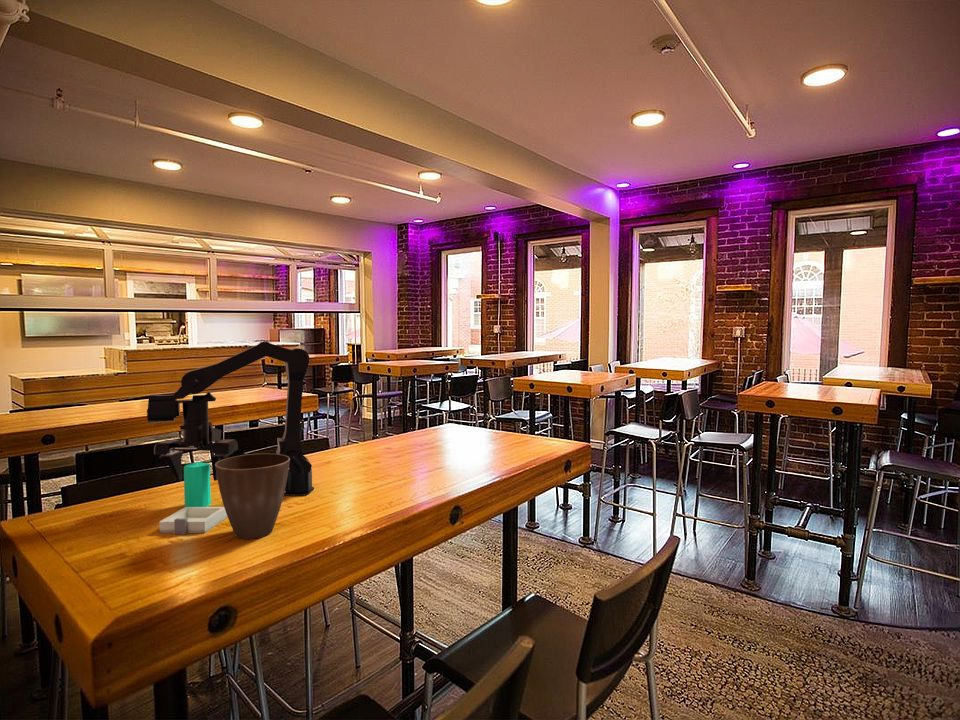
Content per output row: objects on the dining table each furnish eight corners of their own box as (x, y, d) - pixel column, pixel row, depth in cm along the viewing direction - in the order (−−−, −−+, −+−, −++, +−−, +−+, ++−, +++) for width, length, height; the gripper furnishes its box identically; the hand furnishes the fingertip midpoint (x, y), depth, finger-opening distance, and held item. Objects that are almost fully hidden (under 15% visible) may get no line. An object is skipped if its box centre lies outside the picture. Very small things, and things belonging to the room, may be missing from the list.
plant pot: (269, 516, 126) (268, 450, 125) (304, 531, 116) (303, 459, 116) (204, 535, 114) (202, 461, 114) (237, 552, 105) (235, 473, 104)
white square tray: (227, 517, 125) (227, 504, 125) (203, 534, 115) (202, 519, 114) (185, 517, 126) (185, 504, 125) (157, 534, 115) (156, 519, 115)
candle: (199, 509, 131) (198, 462, 130) (178, 508, 132) (177, 461, 132) (216, 502, 137) (215, 456, 136) (196, 501, 138) (194, 455, 138)
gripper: (246, 414, 142) (248, 472, 142) (177, 415, 142) (179, 472, 142) (226, 421, 130) (228, 483, 131) (151, 421, 131) (153, 484, 131)
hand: (197, 480), depth 134 cm, fingers open, 9 cm apart
